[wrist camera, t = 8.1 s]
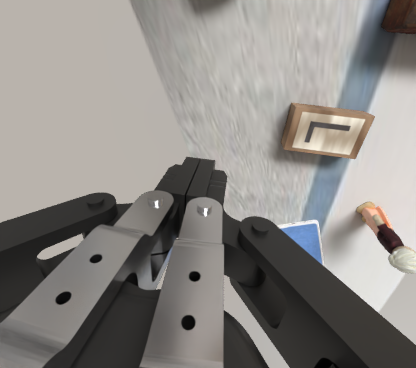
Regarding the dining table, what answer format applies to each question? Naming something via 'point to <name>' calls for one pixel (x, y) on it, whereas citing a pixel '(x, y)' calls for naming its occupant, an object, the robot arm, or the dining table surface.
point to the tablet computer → (306, 237)
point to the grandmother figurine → (388, 238)
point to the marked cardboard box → (325, 130)
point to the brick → (400, 17)
